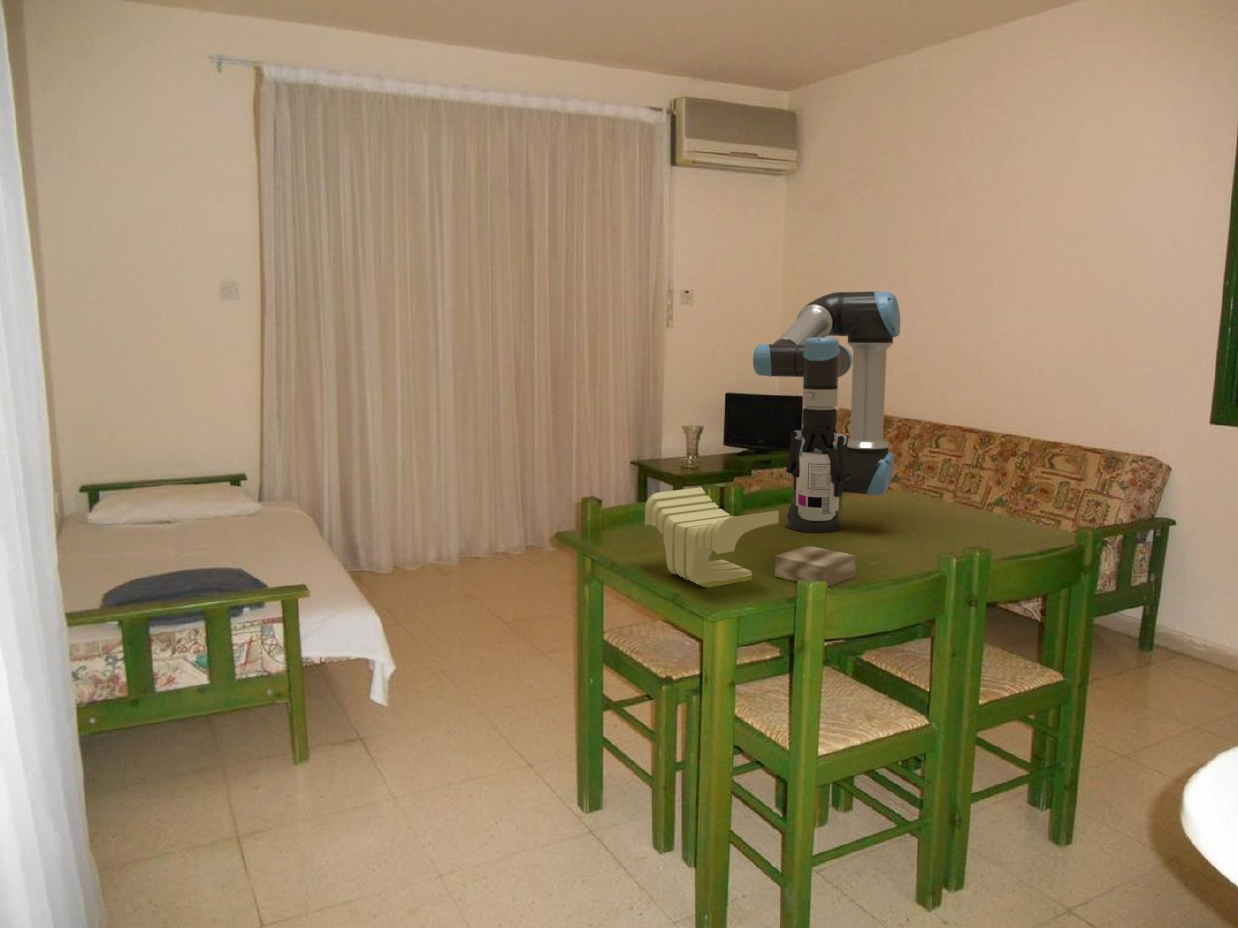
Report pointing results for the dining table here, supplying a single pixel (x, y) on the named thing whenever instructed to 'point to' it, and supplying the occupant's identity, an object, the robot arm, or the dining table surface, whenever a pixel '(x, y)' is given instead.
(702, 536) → the slatted curved stool
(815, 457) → the supplement can
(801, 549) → the birch plinth
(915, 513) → the dining table surface
